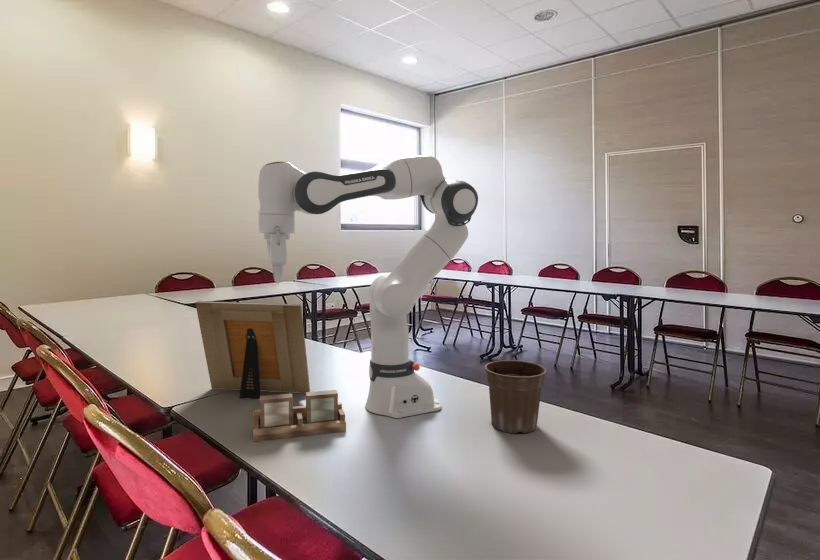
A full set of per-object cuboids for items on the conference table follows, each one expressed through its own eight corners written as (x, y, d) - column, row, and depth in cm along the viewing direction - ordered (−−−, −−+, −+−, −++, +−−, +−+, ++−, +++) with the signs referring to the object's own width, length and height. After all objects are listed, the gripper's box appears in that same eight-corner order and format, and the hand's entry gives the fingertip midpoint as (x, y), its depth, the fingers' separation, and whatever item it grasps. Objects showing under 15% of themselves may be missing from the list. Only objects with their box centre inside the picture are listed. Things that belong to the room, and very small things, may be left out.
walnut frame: (292, 422, 127) (291, 393, 126) (293, 427, 124) (292, 397, 123) (260, 426, 125) (259, 396, 124) (260, 431, 122) (259, 400, 121)
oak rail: (340, 419, 133) (341, 402, 133) (346, 431, 126) (346, 412, 125) (253, 428, 126) (253, 410, 126) (253, 441, 119) (253, 421, 118)
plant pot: (473, 428, 129) (475, 369, 127) (495, 410, 143) (497, 356, 141) (533, 443, 121) (536, 380, 119) (550, 421, 134) (553, 365, 133)
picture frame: (310, 392, 155) (309, 300, 152) (300, 403, 146) (299, 305, 143) (213, 387, 159) (211, 297, 156) (197, 398, 149) (194, 301, 146)
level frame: (336, 418, 130) (336, 389, 130) (337, 422, 127) (337, 393, 127) (305, 421, 128) (305, 392, 127) (307, 426, 125) (306, 396, 124)
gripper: (292, 226, 114) (292, 284, 116) (287, 226, 134) (287, 276, 135) (264, 225, 112) (265, 284, 114) (263, 226, 132) (264, 276, 133)
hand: (277, 280), depth 124 cm, fingers open, 8 cm apart
